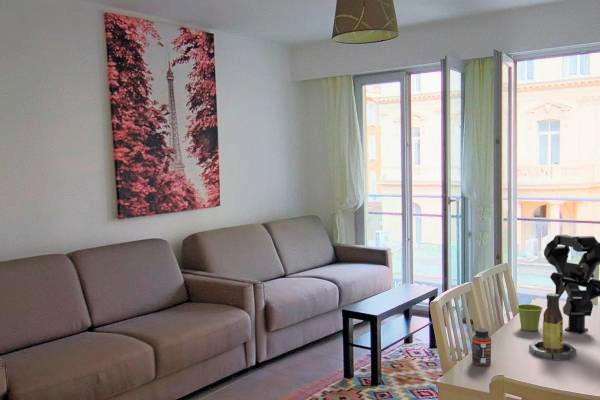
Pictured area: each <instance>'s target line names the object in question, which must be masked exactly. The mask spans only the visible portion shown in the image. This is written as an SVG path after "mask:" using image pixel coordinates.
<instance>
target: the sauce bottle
mask: <svg viewBox="0 0 600 400" xmlns="http://www.w3.org/2000/svg"><path fill="white" fill-rule="evenodd" d="M560 298H561V297H560ZM560 298H559V295H558V294H555V293H547V294H546V309H545V310H544V311H543V318H542V319H543V320H542V340H543V346H544V348H543V349H544V350H545V351H548V352H551V353H561V352H562V348H563V343H564V342H563V341H564V337H563V336H564V332H563V331H564V317H563V315H562V311H561V309H560Z"/></svg>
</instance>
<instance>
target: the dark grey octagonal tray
mask: <svg viewBox="0 0 600 400" xmlns="http://www.w3.org/2000/svg"><path fill="white" fill-rule="evenodd" d="M543 348H544V346H543V339H542V340H541V339H540V340H538V339H537V340H534V341H533V342H531V343H529V344H528V350H529V352H530V353H531V354H533V356H536V357H538V358H541V359H547V360H553V361H567V360H572V359H573V358H575V356H576V355H577V349H576V348H575V347H574V346H573V345H571V344H570V343H567V342H563V348H562V352H561V353H551V352H548V351H545V350H544V349H543Z"/></svg>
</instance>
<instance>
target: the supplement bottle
mask: <svg viewBox="0 0 600 400" xmlns="http://www.w3.org/2000/svg"><path fill="white" fill-rule="evenodd" d="M471 339H472V340H471V343H472V344H471V361H472V363H473V364H474V365H477V366H480V367H481V366H482V367H483V366H484V367H485V366H489V365H491V362H492V360H491V359H492V337H491V336H490V335H489V330H488V329H487V328H484V327H483V328H482V327H481V328H480V327H478V328H476V329H475V334H473V336H472V338H471Z"/></svg>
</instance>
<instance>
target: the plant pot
mask: <svg viewBox="0 0 600 400" xmlns="http://www.w3.org/2000/svg"><path fill="white" fill-rule="evenodd" d="M516 308H517V312H518V315H519V322H520V328H521V329H522V330H523V331H527V332H531V331H533V332H536V331H538V330H539V327H540V326H539V325H540V320H541V319H540V318H541V314H542V311H543V308H544V307H542V306H540V305H538V304H537V305H536V304H525V303H523V304H518V305H517V306H516Z"/></svg>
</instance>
